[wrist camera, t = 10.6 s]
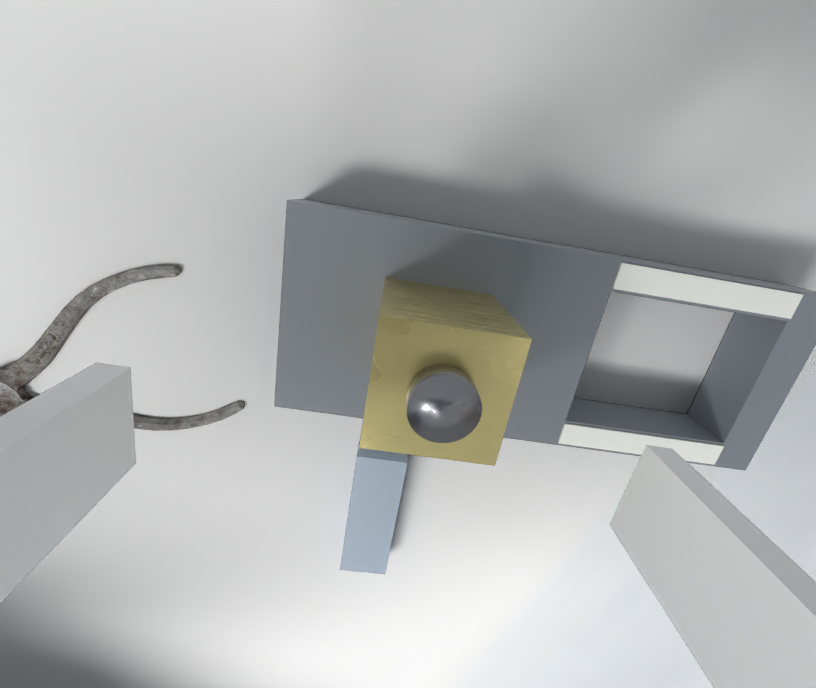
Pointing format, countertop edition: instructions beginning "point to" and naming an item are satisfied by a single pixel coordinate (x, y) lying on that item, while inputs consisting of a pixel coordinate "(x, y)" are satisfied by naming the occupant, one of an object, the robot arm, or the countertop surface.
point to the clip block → (442, 373)
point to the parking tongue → (373, 510)
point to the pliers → (6, 384)
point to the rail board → (533, 328)
